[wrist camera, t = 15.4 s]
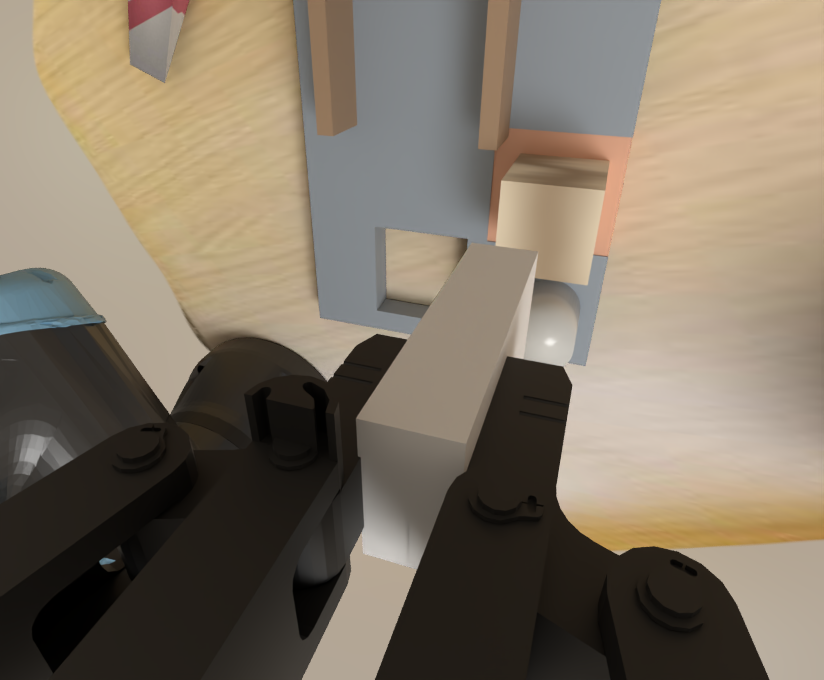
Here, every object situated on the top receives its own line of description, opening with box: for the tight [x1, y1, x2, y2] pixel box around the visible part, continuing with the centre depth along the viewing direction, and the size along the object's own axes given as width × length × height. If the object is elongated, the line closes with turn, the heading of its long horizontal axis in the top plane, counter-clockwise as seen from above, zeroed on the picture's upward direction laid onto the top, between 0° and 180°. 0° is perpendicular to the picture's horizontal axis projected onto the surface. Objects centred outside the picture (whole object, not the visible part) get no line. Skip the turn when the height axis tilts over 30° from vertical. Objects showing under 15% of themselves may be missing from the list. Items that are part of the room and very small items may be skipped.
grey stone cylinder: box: [523, 280, 581, 367], centre depth 35 cm, size 4×4×5 cm
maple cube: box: [495, 153, 610, 285], centre depth 31 cm, size 5×5×6 cm
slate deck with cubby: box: [293, 0, 661, 366], centre depth 33 cm, size 20×29×6 cm
